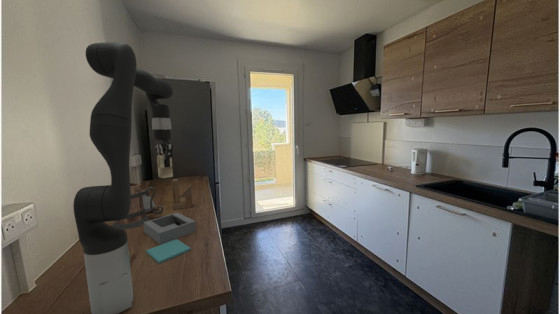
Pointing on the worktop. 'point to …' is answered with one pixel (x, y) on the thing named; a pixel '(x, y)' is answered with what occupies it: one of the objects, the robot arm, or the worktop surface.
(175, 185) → the wooden block
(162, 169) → the birch block
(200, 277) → the worktop surface
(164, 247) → the mat
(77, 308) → the worktop surface
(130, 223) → the tankard
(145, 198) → the coffee pot
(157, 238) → the open gray rectangular frame
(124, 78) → the robot arm
